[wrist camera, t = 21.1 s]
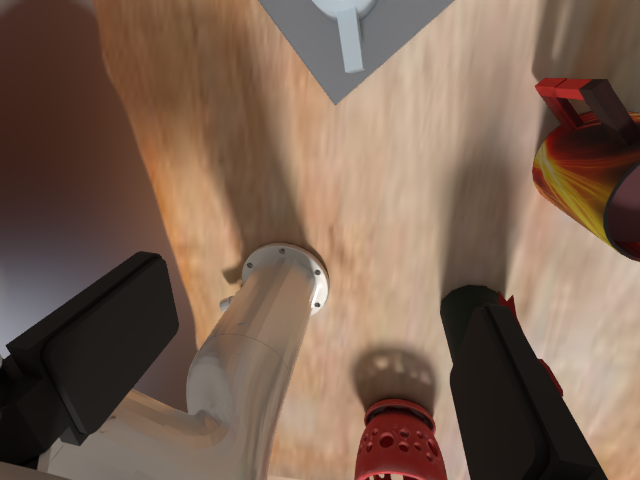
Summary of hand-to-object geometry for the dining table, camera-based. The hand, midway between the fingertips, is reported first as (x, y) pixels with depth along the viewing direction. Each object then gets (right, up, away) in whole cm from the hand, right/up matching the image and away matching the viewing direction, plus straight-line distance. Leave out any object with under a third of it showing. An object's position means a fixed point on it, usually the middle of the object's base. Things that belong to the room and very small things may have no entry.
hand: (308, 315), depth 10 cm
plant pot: (+14, -28, +45) cm, 55 cm away
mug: (+25, +11, +22) cm, 35 cm away
